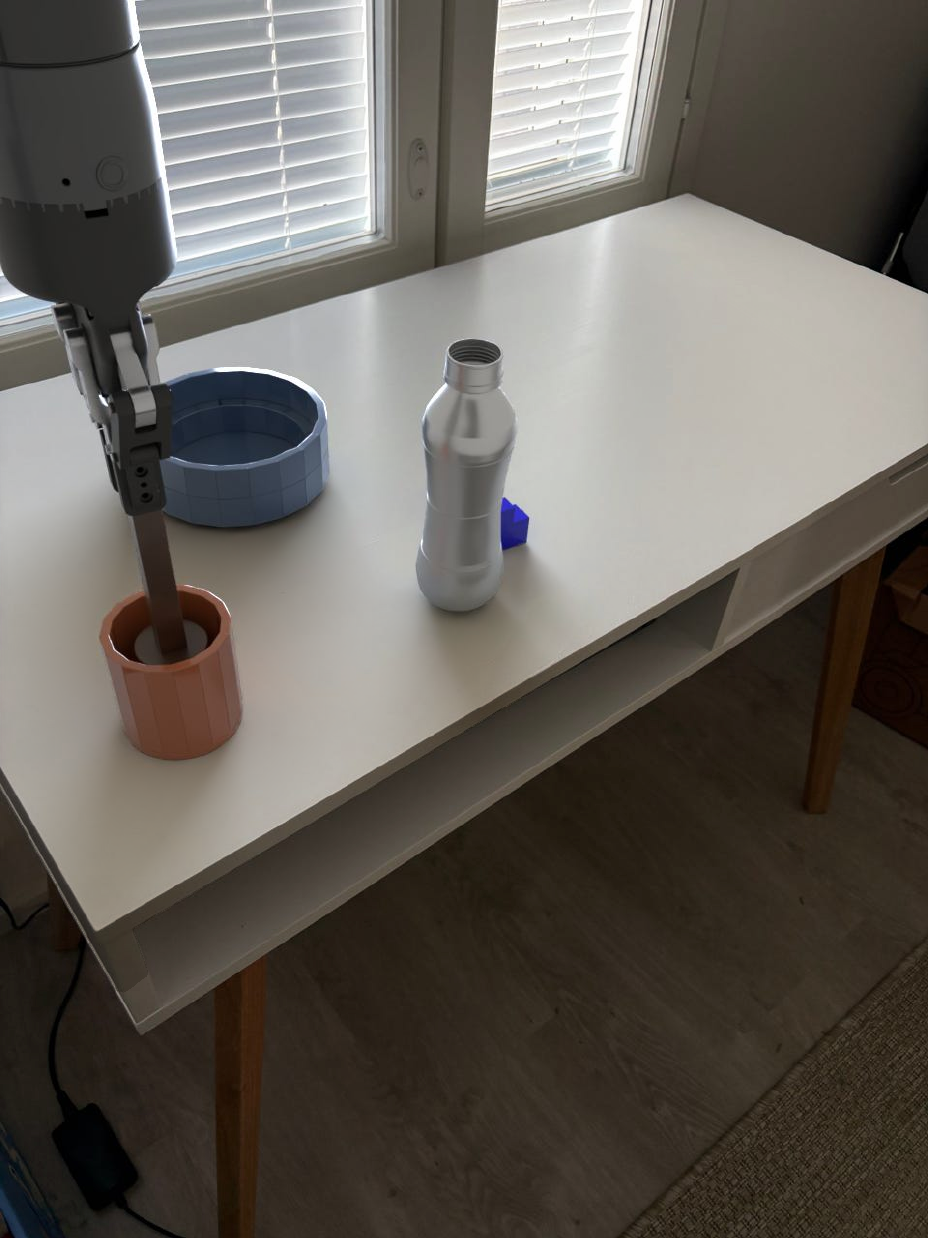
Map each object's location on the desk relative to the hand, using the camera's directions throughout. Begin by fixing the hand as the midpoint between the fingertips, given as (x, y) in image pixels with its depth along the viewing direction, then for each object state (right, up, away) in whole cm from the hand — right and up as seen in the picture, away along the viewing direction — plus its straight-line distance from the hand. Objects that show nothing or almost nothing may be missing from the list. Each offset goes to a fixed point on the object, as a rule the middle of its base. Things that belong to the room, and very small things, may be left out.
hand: (139, 497), depth 54 cm
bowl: (-2, +6, +32) cm, 32 cm away
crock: (-1, -13, +12) cm, 18 cm away
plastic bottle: (+17, -5, +22) cm, 28 cm away
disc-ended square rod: (-1, -9, +8) cm, 12 cm away
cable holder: (+19, +1, +29) cm, 35 cm away
